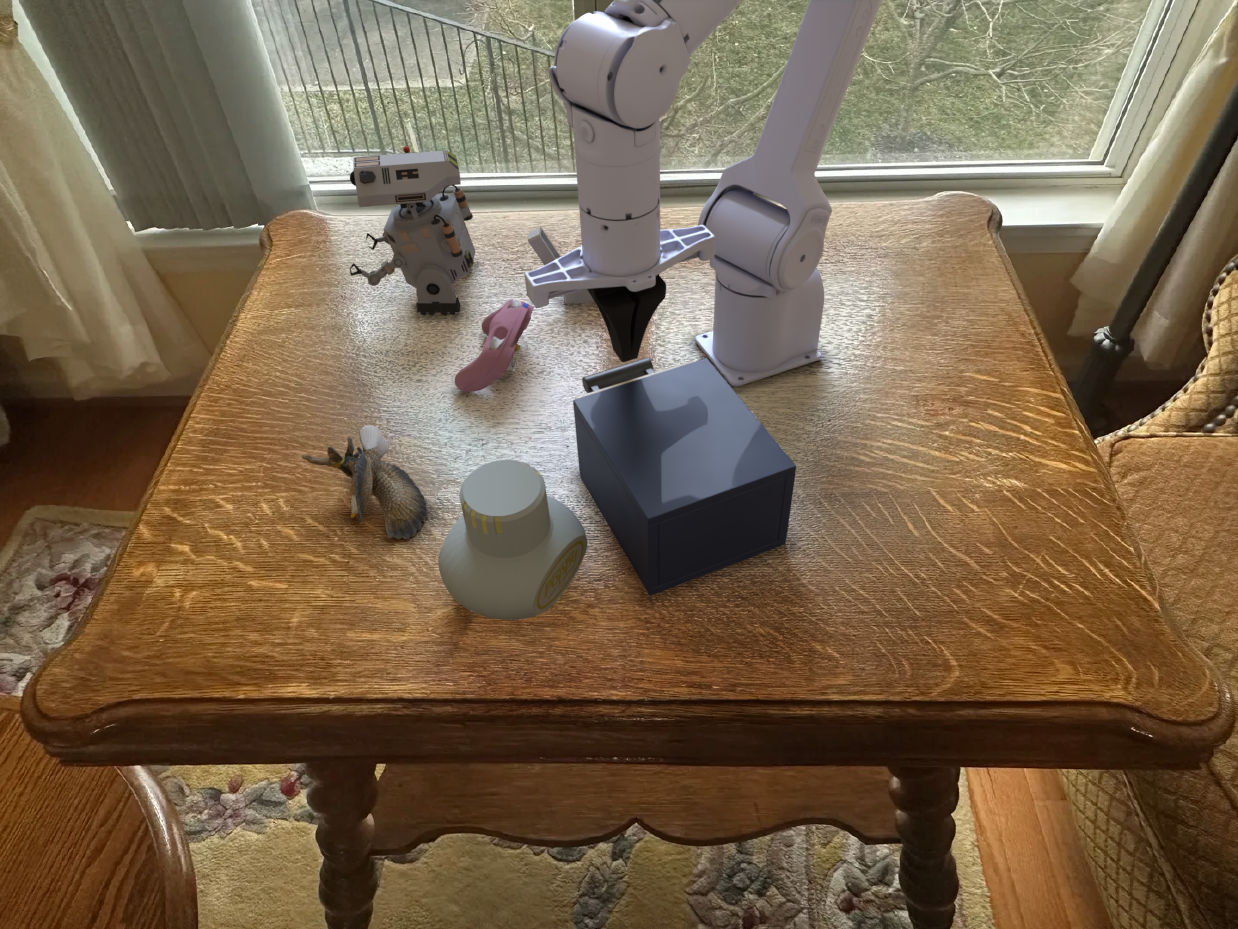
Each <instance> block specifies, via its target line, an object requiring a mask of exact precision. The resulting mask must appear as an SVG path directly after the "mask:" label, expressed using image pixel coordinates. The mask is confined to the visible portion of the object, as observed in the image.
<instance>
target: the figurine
mask: <svg viewBox="0 0 1238 929" xmlns="http://www.w3.org/2000/svg"><path fill="white" fill-rule="evenodd" d="M402 148H403V149H402V151H403V153H393V154H391V153H390V154H379V155H366V156H353V158H352V160H353V161H352V162H353V165H352V166H353V171H351V172H350V175H349V181H350V183H351V184H352V185H353V186H355V189H356V190H355V191H356V198H357V203H358V207H359V208H365V207H378V206H379V207H380V206H391V205H395V206H394V207H393V208H392V209H391V211H390V213H389V215H388V218H387V221H386V222H385V224H384V227H383V232H382V236H378V237H374V236H373V235H371V234H370V233H369V232H367V233H366V236H365V241H367V240H368V238H370V239H371V240H372V241H373V244H372V246H368V245H367V247H368V248H369V249H370V250H372V251H374V250H375V249H376V247H377V244H378V243H385V244H387V245H389V247H390V248H391V251H392V253H393V255H392V259H391V260H390V261H388V260H385V261H383V262H382V264H381V265H380V267H378V268H377V269H375V270H371V271H370V272H368V271H367V270H364V269H360V267H358V266H357V265H356V263H354V262H353V263H351V266H350V267H349V273H350V277H351V276H352V277H353V276H356V275H361V276H362V277H364V278H366V279H367V283H368V285H369V286H371V287H375V286H378V285H379V284H380V282H381V280H382V279H384V278H386V277H387V275H388V276H391V275H392V274H393V273H395V271H396V269H400V270H401V273H402V275H403V277H404V280H405V282H406V284H407V285H410V286H411V287H413V288H415V293H416V303H415V304H416V313H417V314H420V315H421V316H426V315H427V314H428V315H429V316H434V315H435V314H438V313H439V314H441V315H442V316H447V315H448V314H449V315H450V316H455V315H456V313H457V314H458V313H460V312H461V307H462V303H461V301H460V299H459V296H457V293H456V289H455V287H454V284H455V283H457V282H458V281H459V280H461V279H463V278H464V277H466V276H468V275H469V274H471V271H472V268H473V265H474V263H475V257H476V256H475V255H476V252H477V251H476V248H475V247H474V246H475V245H474V243H473V240H472V238H471V235H470V233H469V229H468V227H467V225H466V222H468V221H470V220H472V219H473V218H474V215H473V213H472V212H471V209H470V206H469V203H468V201H467V197H466V194H465V193H464V191H463V188H462V187H457V186H458V185H459V186H460V185H462V184H461V183H462V182H461V172H460V167H459V162H458V158H457V155H456V154H454V153H453V152H450V151H448V150H446V149H445V150H433V151H420V152H419V151H418V152H417V151H415V152H410V151H411V148H410V147H409V146H407V145H405V146H404V147H402ZM449 187H454V188H455V189H453V192H452V193H453V195H454V196H452V195H450V194H448V193H445V191H446V189H447V188H449ZM440 192H442V193H440ZM353 267H354V268H355V270H356V271H353V272H352V270H351V269H352V268H353Z"/></svg>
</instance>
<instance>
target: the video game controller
mask: <svg viewBox="0 0 1238 929" xmlns="http://www.w3.org/2000/svg"><path fill="white" fill-rule="evenodd" d="M534 309H535V306H534V305H533V304H529V303H527V302H525V301H523V300H516V299H514V298H513V297H512V298H511V299H509V300H507V301H506V302H505V303H504V304H503V305H502V306H501V307H500V308H498V309H496V310H495V311H493V312H491V313H490V314H488V315H487V316H486V317H485V318H484V319H483V321H482V322H481V330H482V332H483V333H484V334H485V336H486V339H485V341H484V345H483V346H482V350H481V352H480V354H479V355H478V356H477V357H476V358H475V359H474V360H473V361H472V362H470V363H469V364H467V365H466V366H464V367H463V368H461V369H460V370H458V372H457V373H456V374H455V376H454V386H455V387H456V388H457V389H458V390H459V391H461V392H466V393H474V392H478V391H482V390H484V389H486V388H488V387H490V386H491V385H493V384H494V383H495V382H497V381H498V380H501V379H502V377H503V375H504V374H505V373H507V371H508V370H510V372H513V371H515V370H516V368H517V366H518V364H519V361H518V358H516V359H515V357H514V356H515V353H517V352H519V350H520V344H518V342H519V340H520V338H521V337H522V335H523V333H524V332H525V331H526V330H527V329H528V326H529V325H530V322H531V320H532V313H533V312H534V311H533V310H534Z"/></svg>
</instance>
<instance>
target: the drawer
mask: <svg viewBox="0 0 1238 929" xmlns="http://www.w3.org/2000/svg"><path fill="white" fill-rule="evenodd" d="M692 362H695V361H694V360H690V361H687V362H683V363H680V364H677V365H674V366H670V367H667V368H664V369H661V370H658V371H654V364H653V362H652V360H651V358H650V357H649V356H647V357H644V358H641V359H638V360H634V361H631V362H628V363H624V364H621V365H618V366H615V367H611V368H609V369H605V370H601V371H599V372H596V373H592V374H588V375H585V376H583V377H582V378H581V382H582V387H583V389H584V391H585V392H586V393H584V394H581V395H578V396H575V398H574V400H575V399H578V398H581V397H584V396H587V395H591V394H594V393H597V392H600V391H603V390H606V389H610V388H613V387H616V386H619V385H622V384H626V383H629V382H632V381H635V380H638V379H641V378H645V377H648V376H651V375H654V374H657V373H661V372H664V371H667V370H670V369H673V368H676V367H680V366H683V365H686V364H689V363H692Z"/></svg>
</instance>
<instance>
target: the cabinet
mask: <svg viewBox="0 0 1238 929" xmlns="http://www.w3.org/2000/svg"><path fill="white" fill-rule="evenodd" d="M572 403H573V413H574V414H573V415H574V426H575V427H574V428H575V436H576V437H575V438H576V448H577V456H578V457H577V458H578V459H577V460H578V469H579V478H580V480H581V481H582V483H583V485H584V486H585V488H586V490H587V492H588V493H589V495H590V497H591V499H592V500H593V502H594V504H595V505H596V507H597V509H598V511H599V512H600V514H601V516H602V518H603V519H604V521H605V523H606V524H607V526H608V528H609V530H610V531H611V533H612V535H613V536H614V538H615V540H616V542H617V543H618V545H619V547H620V548H621V550H622V552H623V553H624V555H625V557H626V559H627V561H628V563H629V564H630V565H631V567H632V569H633V571H634V572H635V574H636V576H637V577H638V579H639V581H640V583H641V585H642V586H643V588H644V590H645V591H646V594H648V596H649V597H652V596H654V595H657V594H660V593H662V592H664V591H667V590H670V589H673V588H675V587H677V586H681V585H683V584H685V583H688V582H691V581H693V580H697V579H699V578H702V577H703V576H706V575H709V574H712V573H714V572H717V571H720V570H723V569H725V568H727V567H730V566H733V565H735V564H737V563H741V562H744V561H746V560H749V559H751V558H754V557H757V556H759V555H761V554H764V553H766V552H770V551H772V550H775V549H777V548H779V547H782V546H785V545H786V543H787V539H788V538H787V537H788V532H789V525H790V517H791V509H792V502H793V496H794V495H793V494H794V489H795V488H794V487H795V480H796V472H797V465H796V464H795V462H794V461H793V460H792V459H791V457H790V456H789V455H788V454H787V453H786V451H785V450H784V449H783V448H782V447H781V445H780V444H779V443H778V442H777V441H776V439H775V438H774V437H773V436H772V434H771V433H770V432H769V431H768V430H767V429H766V427H765V426H764V425H763V423H761V421H760V420H759V419H758V417H757V416H756V415H755V414H754V412H752V410H751V409H750V408H749V407H748V405H747V404H746V403H745V402H744V400H743V399H742V398H741V397H740V396H739V395H738V394H737V392H736V391H735V390H734V388H732V385H731V384H730V383H729V382H728V381H727V379H726V378H725V377H724V376H723V375H722V373H721V372H720V371H719V370H718V369H717V367H716V366H715V365H714V364H713V362H712V361H711V360H710V359H709V358H708V357H705V358H702V359H699V360H696V361H694V362H692V363H689V364H686V365H683V366H680V367H676V368H673V369H670V370H667V371H664V372H661V373H657V374H654V375H651V376H648V377H645V378H641V379H638V380H635V381H632V382H629V383H626V384H622V385H619V386H616V387H613V388H610V389H606V390H603V391H600V392H597V393H594V394H591V395H587V396H584V397H581V398H578V399H575V398H574V399H573V400H572Z"/></svg>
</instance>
